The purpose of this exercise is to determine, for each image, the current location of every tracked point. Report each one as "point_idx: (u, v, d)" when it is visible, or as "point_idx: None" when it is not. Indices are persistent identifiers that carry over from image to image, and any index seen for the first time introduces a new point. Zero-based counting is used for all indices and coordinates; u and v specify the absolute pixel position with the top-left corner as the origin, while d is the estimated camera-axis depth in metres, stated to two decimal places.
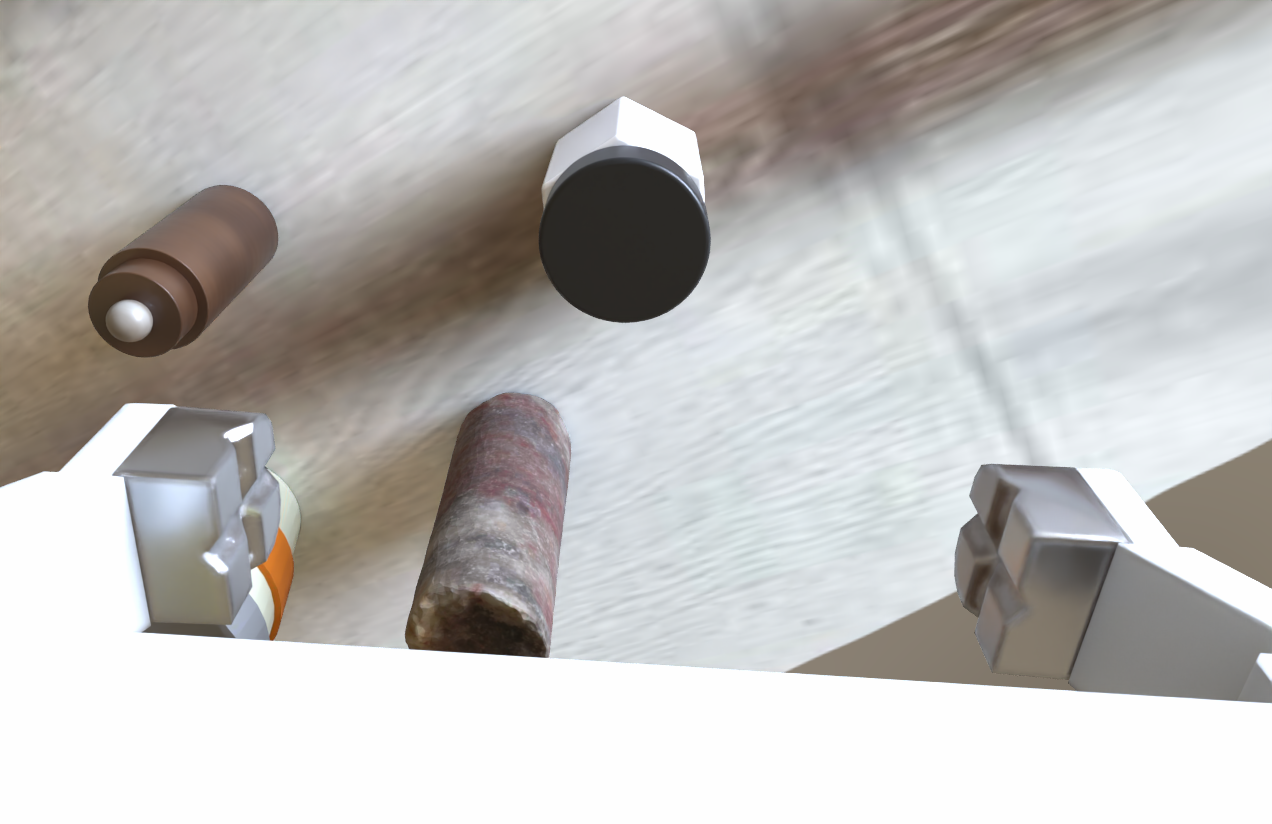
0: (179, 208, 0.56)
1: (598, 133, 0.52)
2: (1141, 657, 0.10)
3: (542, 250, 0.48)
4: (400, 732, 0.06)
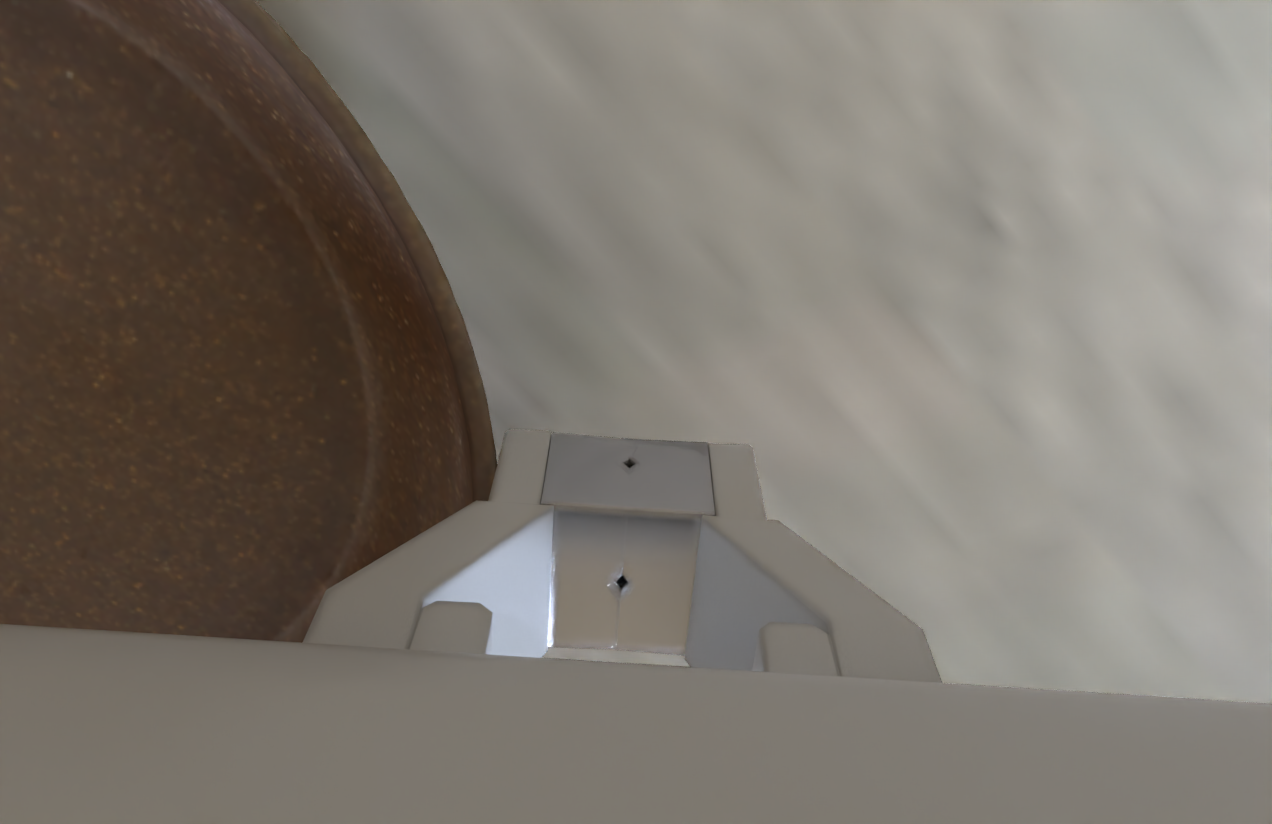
0: None
1: None
2: (725, 631, 0.10)
3: None
4: (400, 732, 0.06)
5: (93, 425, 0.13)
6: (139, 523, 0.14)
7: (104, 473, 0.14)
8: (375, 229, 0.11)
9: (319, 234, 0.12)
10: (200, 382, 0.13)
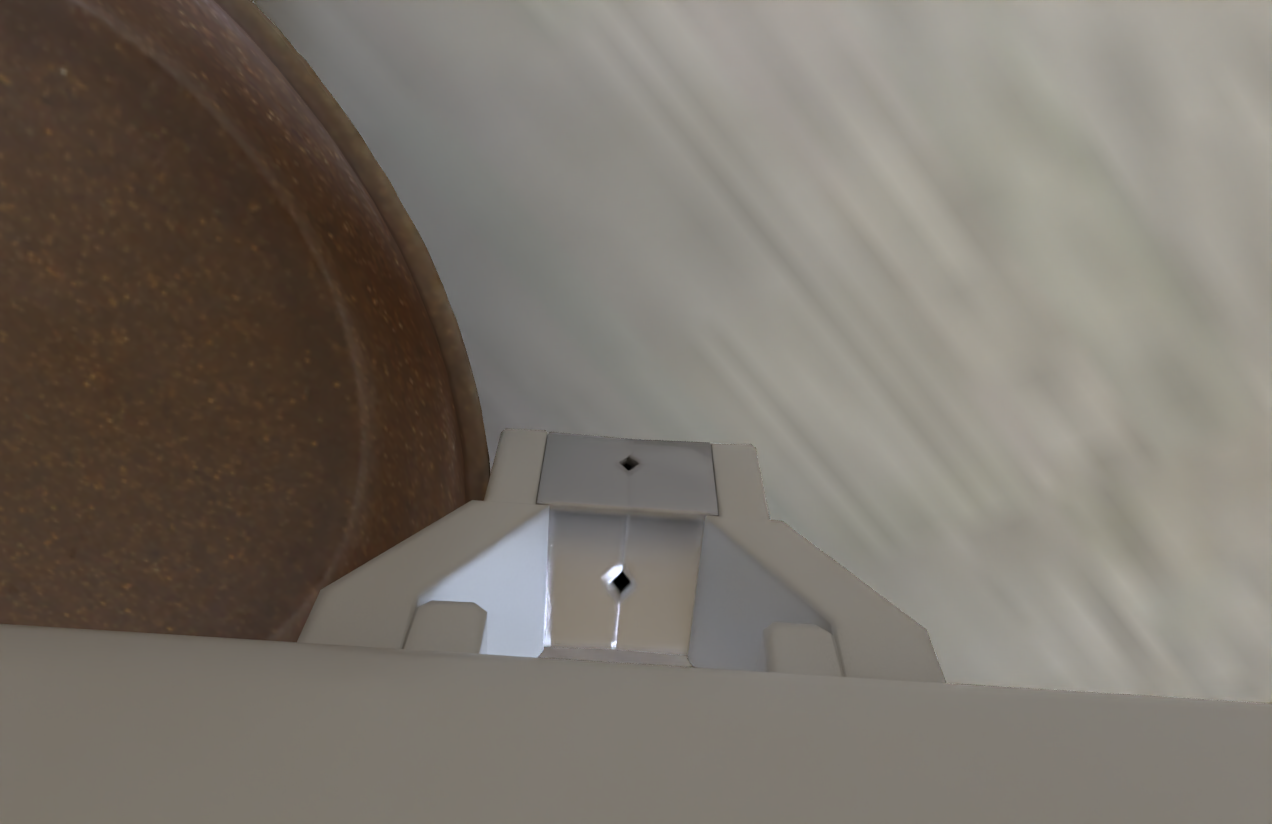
0: None
1: None
2: (728, 631, 0.10)
3: None
4: (400, 732, 0.06)
5: (84, 425, 0.13)
6: (129, 524, 0.14)
7: (93, 473, 0.14)
8: (370, 232, 0.11)
9: (314, 236, 0.12)
10: (191, 384, 0.13)
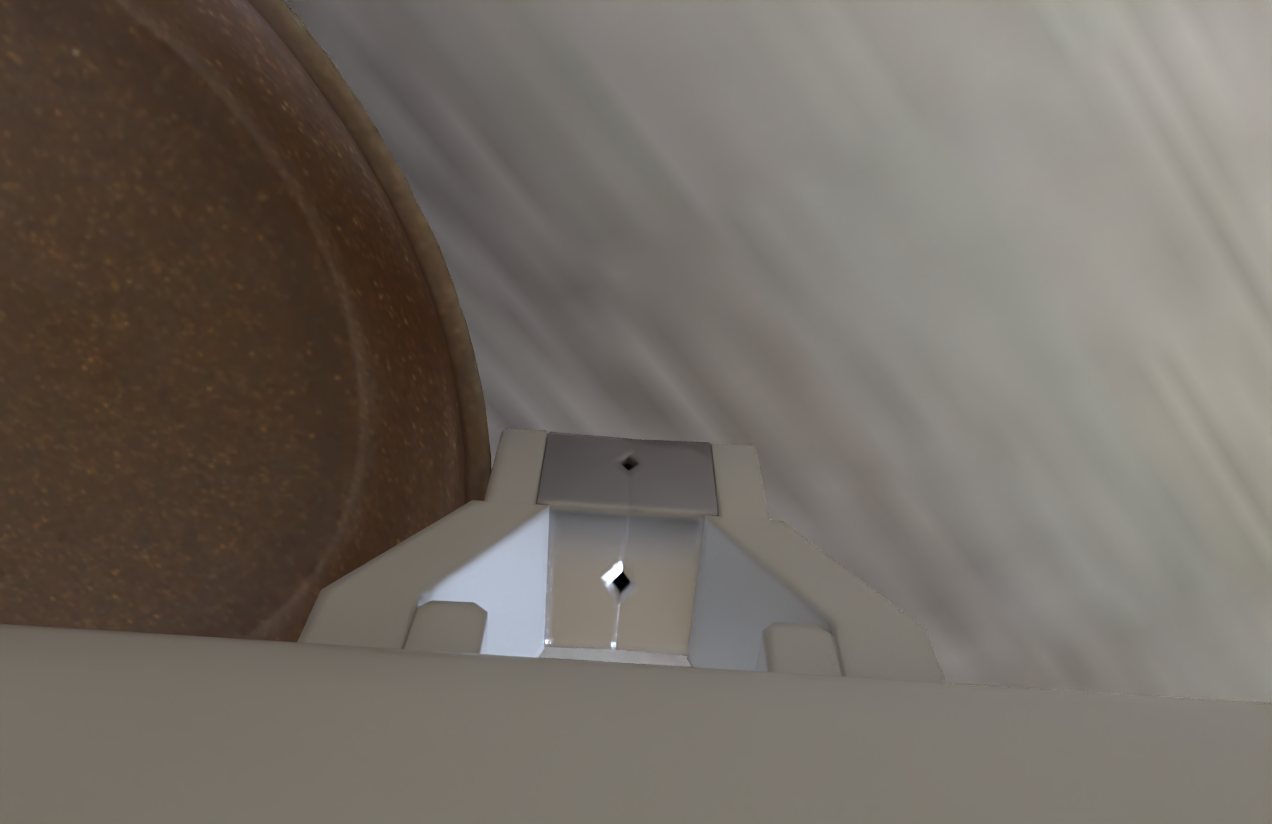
0: None
1: None
2: (728, 630, 0.10)
3: None
4: (400, 732, 0.06)
5: (78, 408, 0.13)
6: (120, 509, 0.14)
7: (87, 456, 0.14)
8: (381, 227, 0.11)
9: (322, 229, 0.12)
10: (191, 371, 0.13)
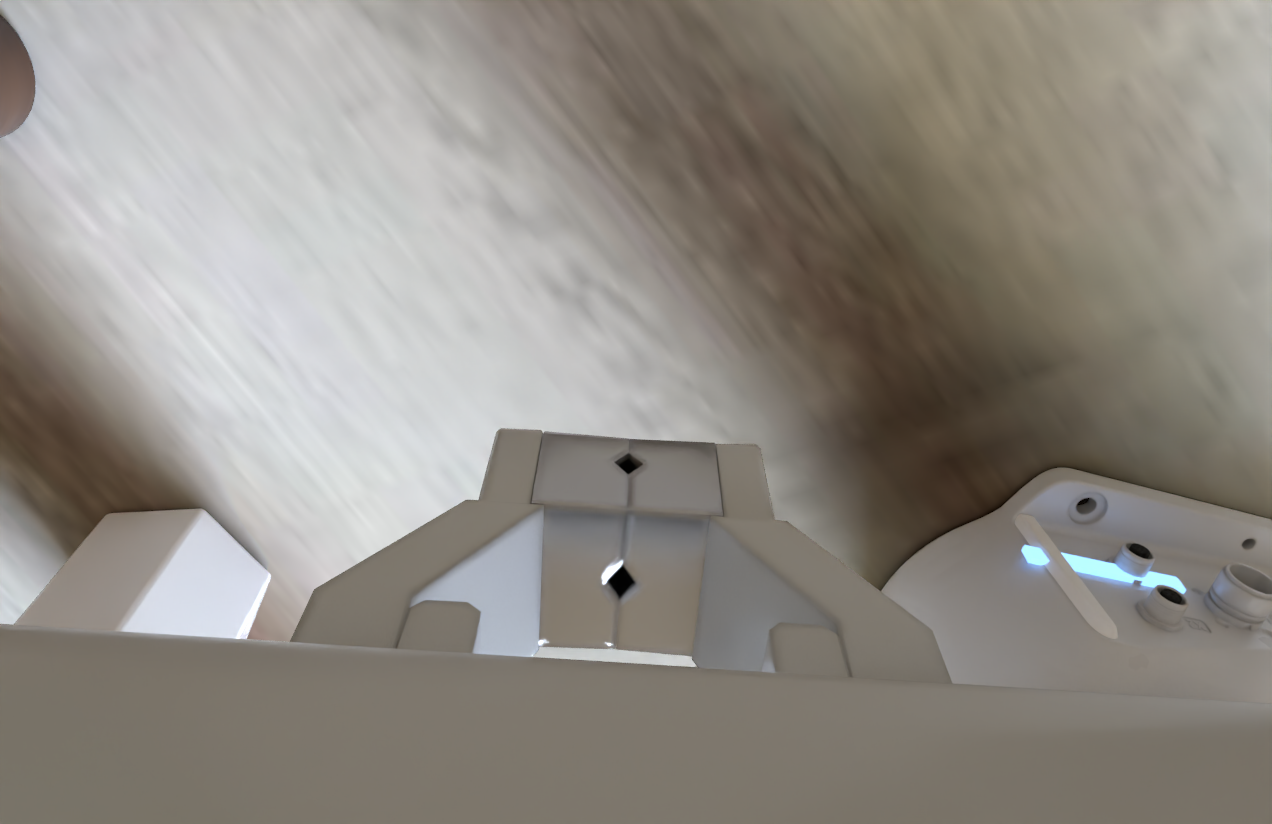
0: None
1: None
2: (733, 631, 0.10)
3: None
4: (400, 732, 0.06)
5: None
6: None
7: None
8: None
9: None
10: None
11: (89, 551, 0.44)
